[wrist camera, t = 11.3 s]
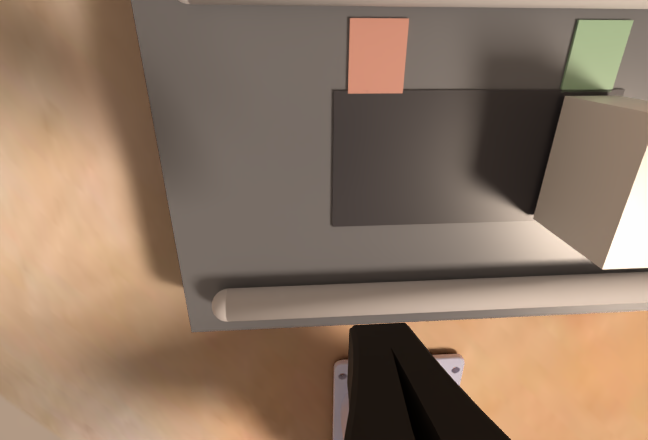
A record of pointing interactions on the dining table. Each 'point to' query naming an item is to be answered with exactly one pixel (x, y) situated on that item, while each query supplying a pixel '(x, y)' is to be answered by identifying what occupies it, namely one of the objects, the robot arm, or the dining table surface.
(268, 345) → the dining table surface
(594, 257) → the lever
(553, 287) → the pair of cream rails
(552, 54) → the box
